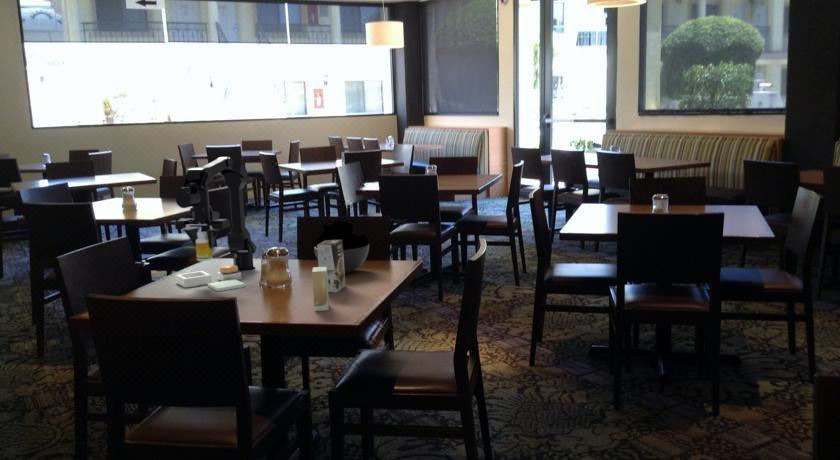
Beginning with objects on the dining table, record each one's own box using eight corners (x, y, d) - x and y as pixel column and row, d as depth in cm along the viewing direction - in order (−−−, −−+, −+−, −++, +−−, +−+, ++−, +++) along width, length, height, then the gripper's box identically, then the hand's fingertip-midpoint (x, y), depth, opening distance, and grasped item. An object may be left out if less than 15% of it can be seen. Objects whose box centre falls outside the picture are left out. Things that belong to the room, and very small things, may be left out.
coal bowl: (363, 264, 291) (360, 216, 288) (376, 274, 273) (373, 223, 270) (311, 270, 285) (308, 220, 282) (321, 281, 266) (318, 228, 263)
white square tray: (203, 278, 278) (202, 270, 278) (211, 283, 271) (211, 274, 270) (176, 282, 273) (176, 274, 273) (184, 287, 265) (184, 279, 265)
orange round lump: (234, 274, 280) (233, 264, 280) (241, 277, 275) (240, 266, 274) (217, 277, 277) (216, 266, 276) (223, 280, 271) (222, 269, 271)
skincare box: (315, 306, 232) (312, 266, 230) (329, 305, 233) (327, 266, 231) (314, 311, 226) (311, 271, 224) (328, 310, 226) (326, 270, 224)
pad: (235, 281, 271) (235, 279, 271) (245, 286, 263) (245, 283, 263) (207, 286, 266) (207, 283, 265) (217, 291, 257) (217, 288, 257)
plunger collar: (235, 276, 280) (234, 269, 280) (241, 279, 275) (240, 272, 275) (217, 279, 277) (217, 272, 276) (223, 282, 271) (223, 275, 271)
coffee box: (338, 292, 248) (335, 244, 246) (319, 292, 250) (316, 244, 247) (346, 286, 257) (343, 239, 255) (328, 286, 258) (325, 239, 256)
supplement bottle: (211, 260, 265) (209, 233, 263) (196, 261, 264) (193, 234, 262) (213, 257, 270) (211, 230, 268) (198, 258, 269) (196, 231, 268)
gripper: (236, 201, 269) (239, 244, 271) (190, 201, 274) (193, 244, 277) (219, 205, 258) (223, 250, 261) (172, 205, 264) (176, 249, 266)
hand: (204, 248), depth 266 cm, fingers closed on supplement bottle, 5 cm apart
